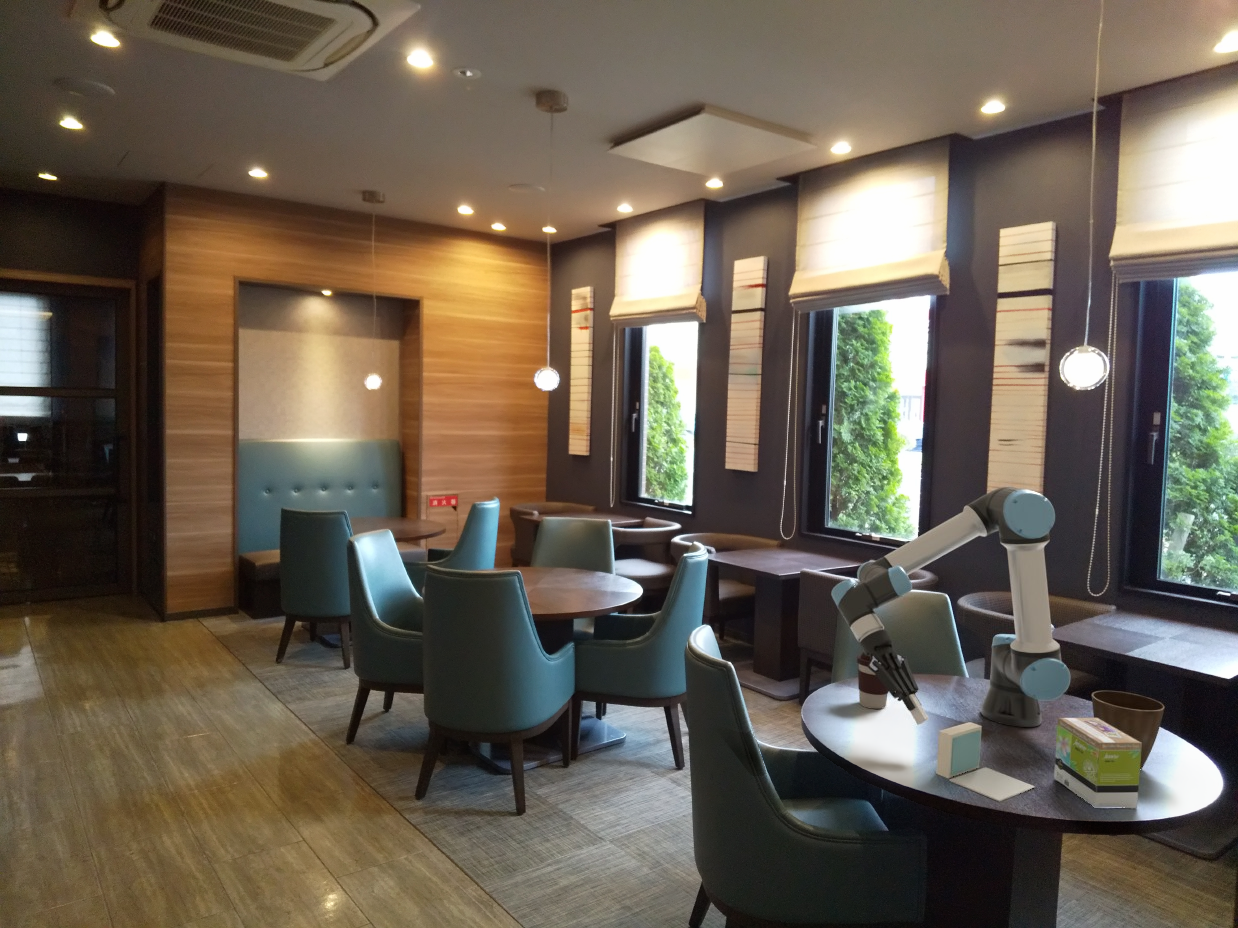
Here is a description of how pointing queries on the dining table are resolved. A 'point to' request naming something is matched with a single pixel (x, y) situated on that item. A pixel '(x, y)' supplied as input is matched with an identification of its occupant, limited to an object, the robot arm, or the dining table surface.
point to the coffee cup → (870, 685)
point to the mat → (992, 784)
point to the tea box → (1098, 762)
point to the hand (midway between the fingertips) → (923, 721)
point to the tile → (958, 749)
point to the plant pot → (1130, 716)
